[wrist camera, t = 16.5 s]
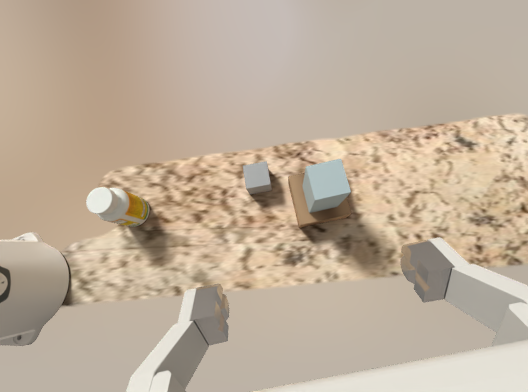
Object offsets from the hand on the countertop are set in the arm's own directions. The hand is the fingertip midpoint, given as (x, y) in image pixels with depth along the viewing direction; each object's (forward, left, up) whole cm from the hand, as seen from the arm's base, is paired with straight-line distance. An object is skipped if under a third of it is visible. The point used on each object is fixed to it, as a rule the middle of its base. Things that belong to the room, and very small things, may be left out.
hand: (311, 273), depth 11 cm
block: (-3, +15, -31) cm, 35 cm away
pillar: (+6, +9, -27) cm, 29 cm away
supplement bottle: (-26, +14, -32) cm, 43 cm away
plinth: (+6, +9, -31) cm, 33 cm away
